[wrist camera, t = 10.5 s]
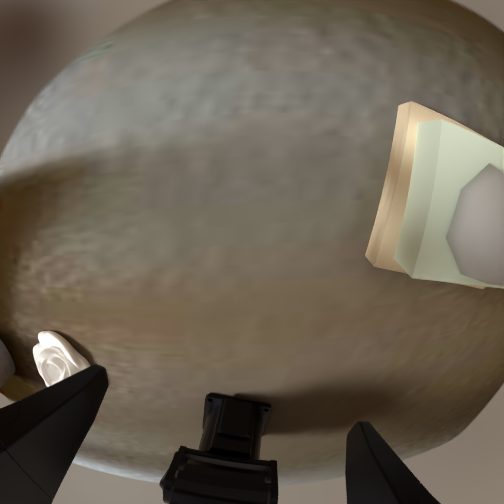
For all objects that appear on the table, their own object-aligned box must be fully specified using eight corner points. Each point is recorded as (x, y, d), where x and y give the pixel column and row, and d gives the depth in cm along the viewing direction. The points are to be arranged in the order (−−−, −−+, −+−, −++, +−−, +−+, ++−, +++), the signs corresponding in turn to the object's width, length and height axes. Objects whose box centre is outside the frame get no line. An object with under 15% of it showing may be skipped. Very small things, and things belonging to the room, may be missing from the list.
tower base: (465, 274, 20) (483, 289, 17) (361, 251, 20) (373, 266, 18) (497, 155, 16) (519, 158, 13) (393, 106, 17) (411, 101, 14)
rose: (38, 399, 25) (7, 340, 22) (54, 379, 29) (28, 321, 26) (96, 424, 24) (64, 361, 21) (111, 399, 28) (86, 336, 25)
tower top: (484, 272, 17) (505, 288, 14) (393, 258, 17) (411, 277, 14) (508, 160, 14) (534, 165, 11) (417, 122, 14) (441, 119, 11)
